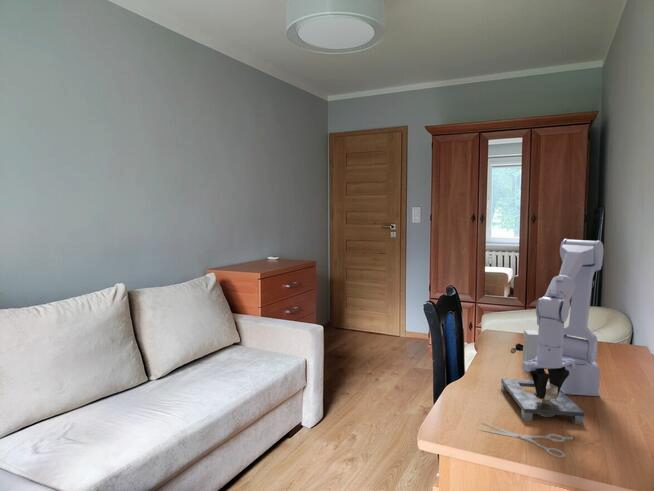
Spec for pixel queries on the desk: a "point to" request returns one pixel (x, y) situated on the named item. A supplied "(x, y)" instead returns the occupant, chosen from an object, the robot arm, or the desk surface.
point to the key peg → (549, 396)
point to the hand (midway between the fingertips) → (547, 396)
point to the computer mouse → (517, 347)
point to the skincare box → (530, 345)
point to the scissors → (529, 438)
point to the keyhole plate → (534, 405)
